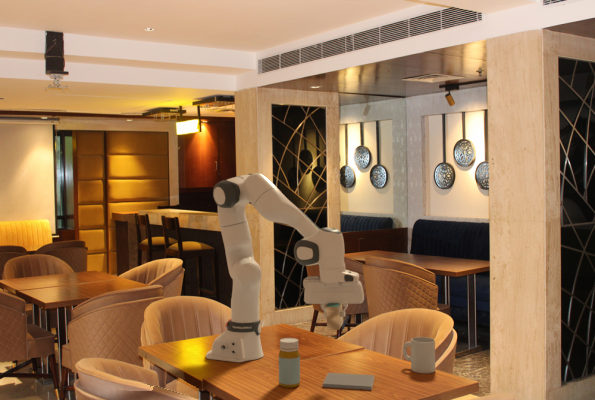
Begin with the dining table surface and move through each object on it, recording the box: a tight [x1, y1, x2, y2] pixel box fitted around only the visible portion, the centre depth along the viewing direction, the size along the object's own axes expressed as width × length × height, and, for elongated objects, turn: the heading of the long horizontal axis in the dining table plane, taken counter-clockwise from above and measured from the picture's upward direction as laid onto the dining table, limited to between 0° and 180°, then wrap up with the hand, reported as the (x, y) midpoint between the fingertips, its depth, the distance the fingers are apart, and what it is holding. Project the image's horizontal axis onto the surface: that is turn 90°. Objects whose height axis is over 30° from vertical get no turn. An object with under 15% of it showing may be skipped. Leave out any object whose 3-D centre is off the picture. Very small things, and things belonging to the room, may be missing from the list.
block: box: [325, 304, 344, 331], centre depth 195 cm, size 4×9×8 cm, turn 167°
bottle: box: [278, 337, 301, 389], centre depth 192 cm, size 7×7×15 cm
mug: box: [402, 336, 436, 374], centre depth 208 cm, size 12×8×11 cm
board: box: [322, 372, 375, 391], centre depth 194 cm, size 16×12×1 cm
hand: (334, 316), depth 195 cm, fingers closed on block, 4 cm apart
